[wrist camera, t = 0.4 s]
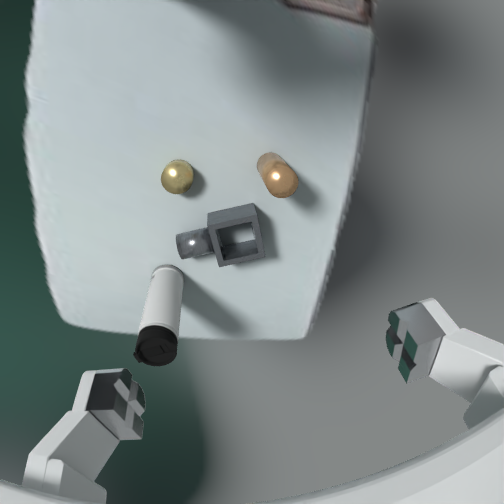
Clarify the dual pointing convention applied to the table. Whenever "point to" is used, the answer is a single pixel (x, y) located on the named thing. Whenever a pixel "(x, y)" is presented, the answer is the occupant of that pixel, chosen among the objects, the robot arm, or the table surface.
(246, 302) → the table surface
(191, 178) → the brass round knob
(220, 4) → the table surface
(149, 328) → the travel mug
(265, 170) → the copper brown cylinder
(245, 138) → the table surface
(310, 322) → the table surface
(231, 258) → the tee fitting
